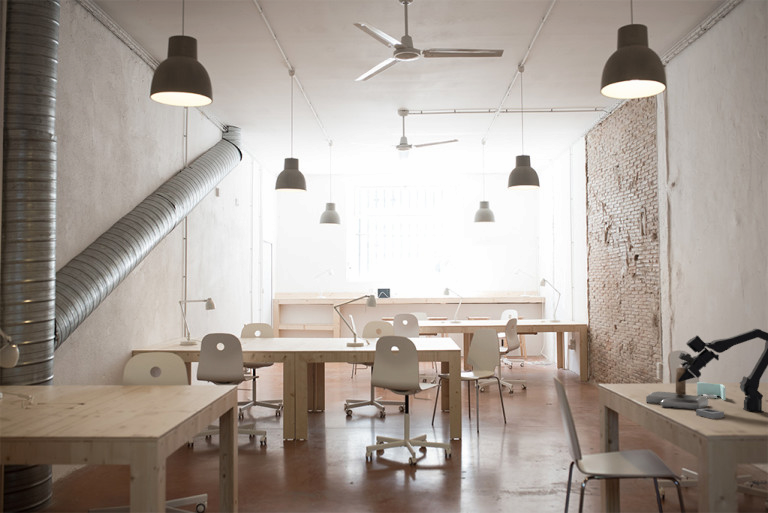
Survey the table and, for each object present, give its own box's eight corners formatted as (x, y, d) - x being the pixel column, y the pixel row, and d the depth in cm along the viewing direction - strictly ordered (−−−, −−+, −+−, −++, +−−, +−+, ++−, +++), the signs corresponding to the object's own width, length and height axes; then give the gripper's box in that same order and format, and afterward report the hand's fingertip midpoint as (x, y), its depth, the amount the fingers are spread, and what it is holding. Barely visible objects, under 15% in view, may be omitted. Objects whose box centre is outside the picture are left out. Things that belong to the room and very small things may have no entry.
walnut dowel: (687, 394, 292) (687, 367, 293) (683, 395, 289) (683, 368, 290) (677, 392, 295) (677, 366, 296) (674, 393, 292) (674, 367, 293)
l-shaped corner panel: (696, 395, 321) (696, 382, 322) (721, 398, 317) (721, 384, 317) (699, 399, 310) (699, 385, 311) (725, 402, 306) (725, 387, 306)
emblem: (679, 388, 311) (722, 399, 284) (679, 398, 311) (722, 410, 284) (634, 389, 304) (673, 400, 277) (634, 400, 304) (673, 412, 277)
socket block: (707, 413, 273) (707, 408, 273) (724, 417, 266) (724, 411, 266) (696, 415, 270) (696, 409, 270) (712, 418, 262) (712, 413, 263)
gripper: (685, 345, 301) (662, 365, 304) (693, 349, 283) (668, 370, 286) (702, 361, 298) (679, 382, 301) (711, 366, 280) (686, 388, 283)
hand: (677, 380), depth 293 cm, fingers closed on walnut dowel, 4 cm apart
